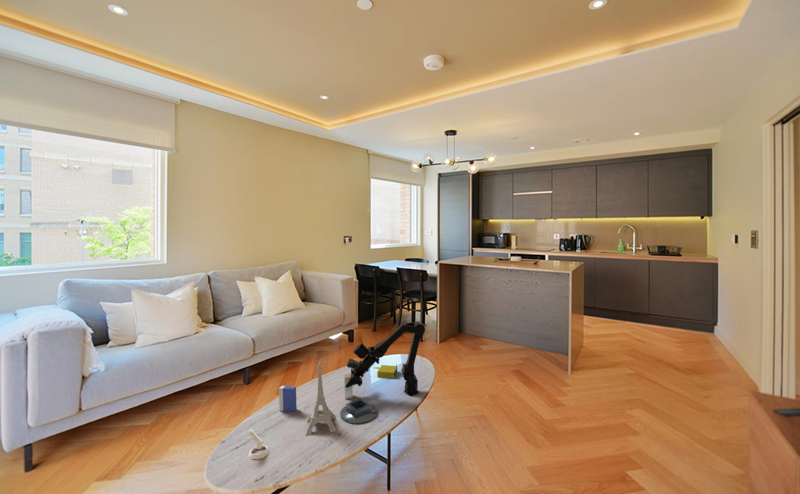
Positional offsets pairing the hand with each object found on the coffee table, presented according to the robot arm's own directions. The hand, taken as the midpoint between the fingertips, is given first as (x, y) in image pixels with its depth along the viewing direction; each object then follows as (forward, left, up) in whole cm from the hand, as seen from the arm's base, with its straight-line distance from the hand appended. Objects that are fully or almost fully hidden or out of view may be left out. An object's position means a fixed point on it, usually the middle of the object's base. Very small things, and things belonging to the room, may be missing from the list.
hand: (346, 385), depth 181 cm
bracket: (-32, -14, -7) cm, 36 cm away
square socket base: (+2, +19, -7) cm, 20 cm away
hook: (+49, +23, -7) cm, 54 cm away
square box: (-1, +1, -7) cm, 7 cm away
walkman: (+30, -4, -7) cm, 31 cm away
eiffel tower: (+21, +18, -7) cm, 28 cm away
